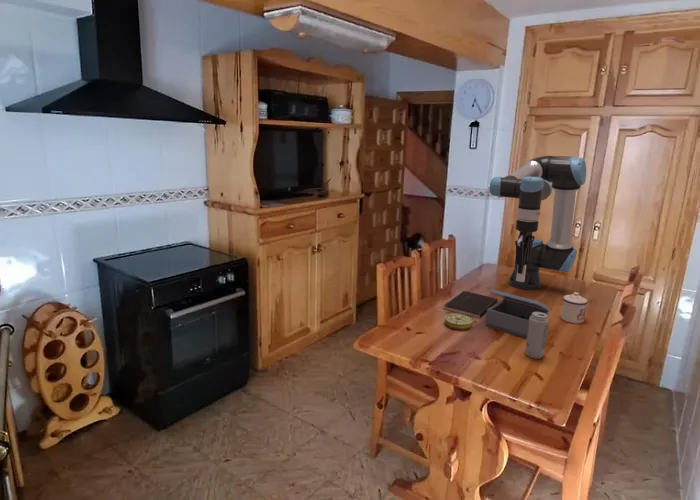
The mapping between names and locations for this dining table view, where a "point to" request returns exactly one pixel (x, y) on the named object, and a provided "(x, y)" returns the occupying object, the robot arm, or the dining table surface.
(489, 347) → the dining table surface
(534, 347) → the energy drink can
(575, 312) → the teacup with lid
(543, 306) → the gray box lid
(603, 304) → the dining table surface
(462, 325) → the olive round disc
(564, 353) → the dining table surface
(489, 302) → the hardcover book
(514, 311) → the grey hinged box
